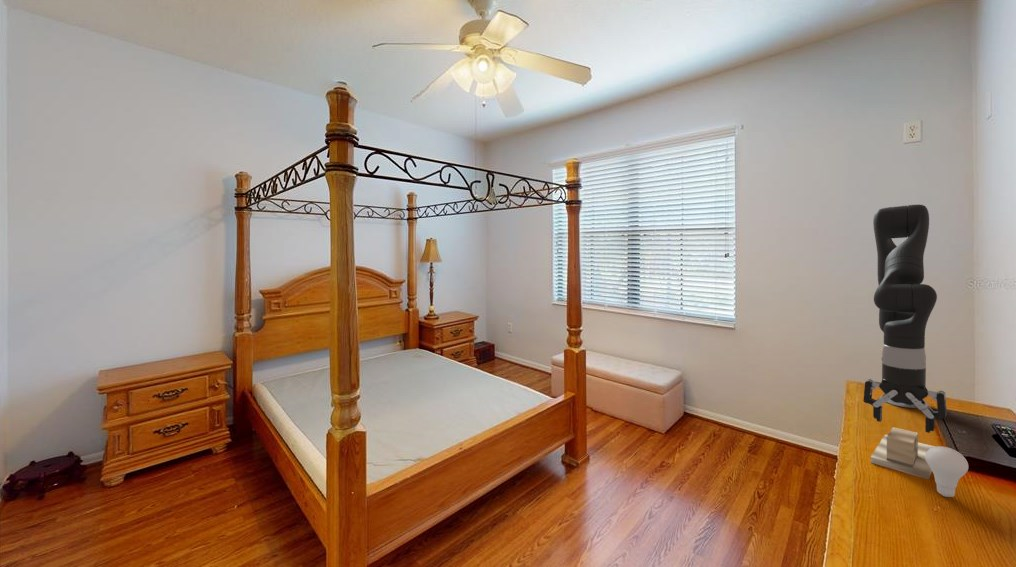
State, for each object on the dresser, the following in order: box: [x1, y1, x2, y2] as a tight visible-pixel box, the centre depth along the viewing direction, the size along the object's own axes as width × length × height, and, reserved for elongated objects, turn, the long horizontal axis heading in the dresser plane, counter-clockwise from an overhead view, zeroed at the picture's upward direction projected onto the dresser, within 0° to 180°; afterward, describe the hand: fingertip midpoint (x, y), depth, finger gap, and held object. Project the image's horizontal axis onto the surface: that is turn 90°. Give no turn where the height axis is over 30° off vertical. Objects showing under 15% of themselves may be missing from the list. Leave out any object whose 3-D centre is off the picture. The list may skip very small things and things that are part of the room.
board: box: [870, 434, 936, 480], centre depth 97 cm, size 18×10×2 cm, turn 126°
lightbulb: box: [925, 445, 969, 498], centre depth 82 cm, size 6×6×11 cm
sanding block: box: [887, 426, 919, 467], centre depth 95 cm, size 8×4×6 cm, turn 126°
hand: (902, 425), depth 95 cm, fingers open, 8 cm apart
